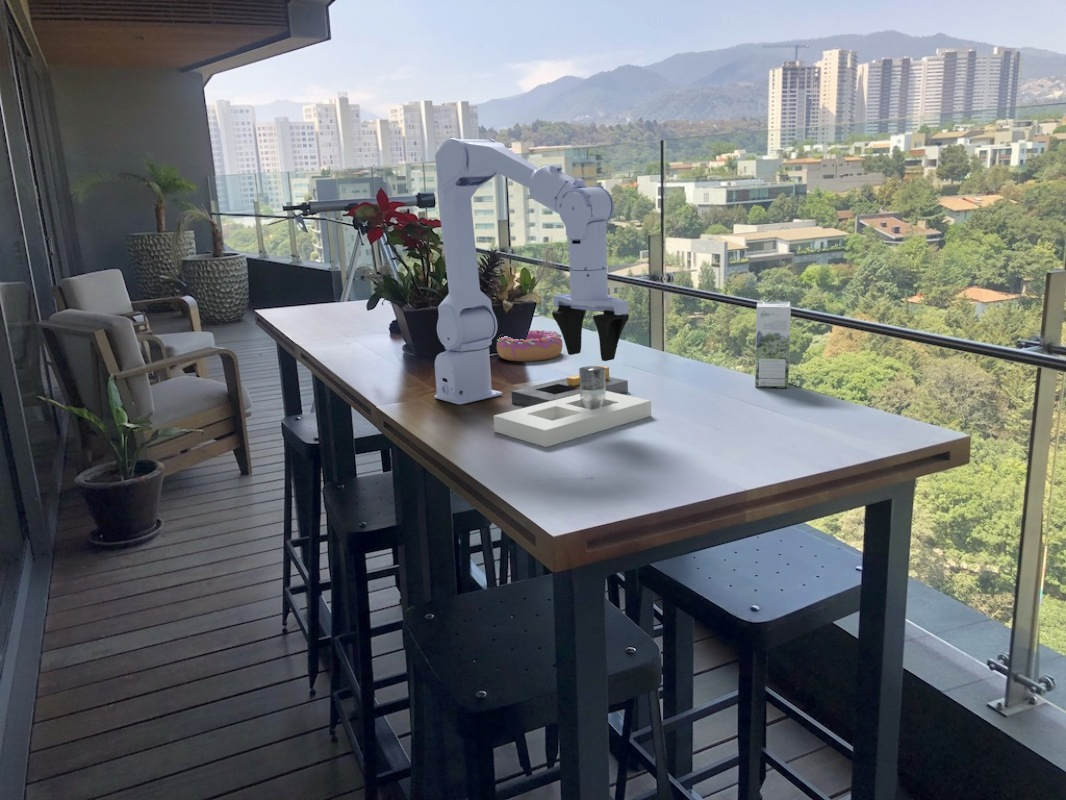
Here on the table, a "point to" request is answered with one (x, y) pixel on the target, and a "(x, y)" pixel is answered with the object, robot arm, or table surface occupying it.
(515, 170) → the robot arm
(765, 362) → the syrup box
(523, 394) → the dark grey socket tray
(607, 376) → the bar
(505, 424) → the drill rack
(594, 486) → the table surface
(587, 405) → the brushed steel cylinder
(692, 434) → the table surface
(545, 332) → the donut
